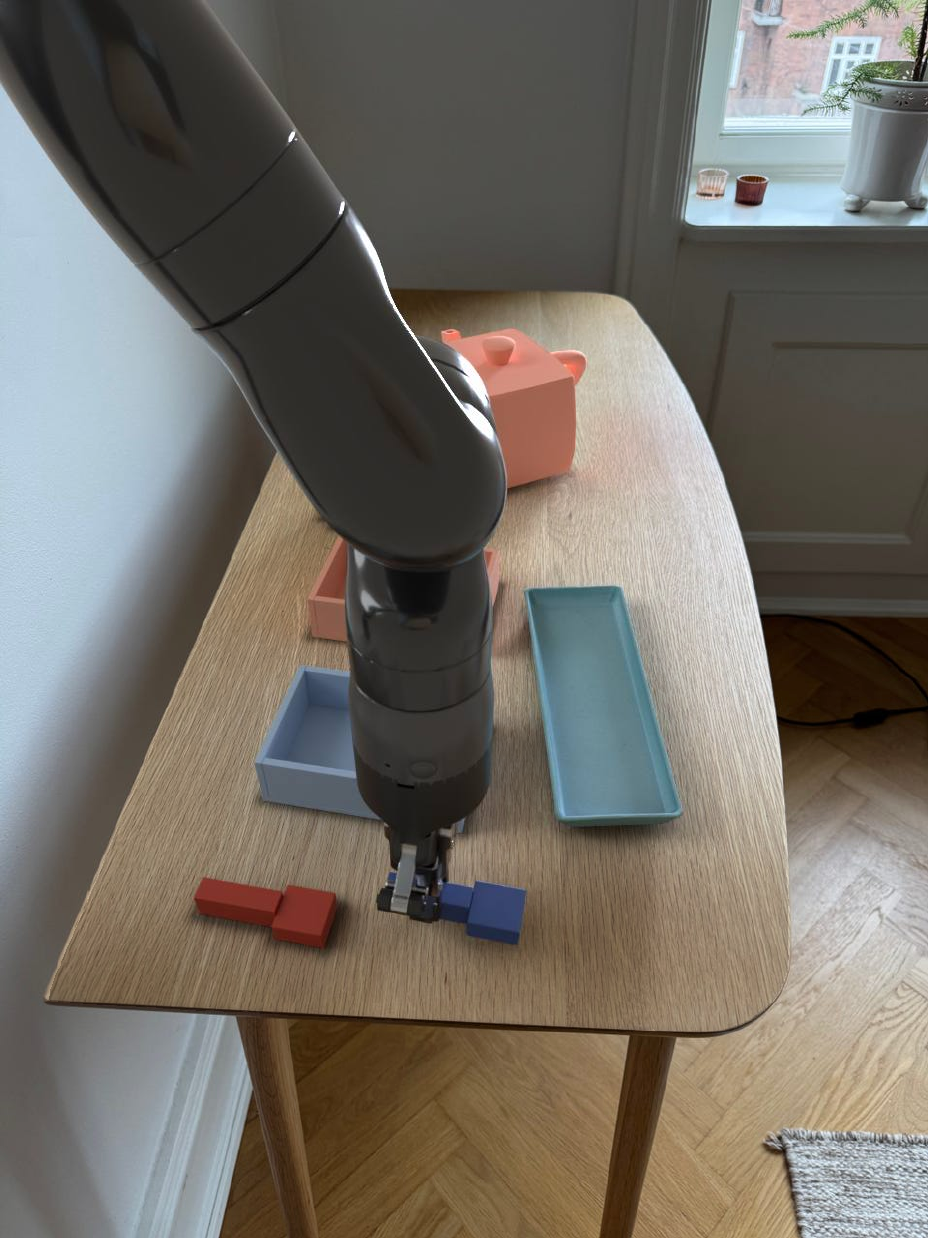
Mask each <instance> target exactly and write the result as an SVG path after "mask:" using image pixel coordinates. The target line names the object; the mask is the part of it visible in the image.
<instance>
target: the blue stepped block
mask: <svg viewBox="0 0 928 1238" xmlns="http://www.w3.org/2000/svg"><path fill="white" fill-rule="evenodd" d="M396 876H397V872H394V871H390V872H389V873H388V876H387V879H386V881H387V880H391V881H396ZM442 883H443V891H442V911H441V915H440V920H441V921H442V920H443V921H446V922H447V921H448V922H452V923H456V924H457V923H458V924H463V925H465V936H466V937H470V938H475V939H481V940H486V941H492V942H496V943H501V944H506V945H507V944H508V945H512V946H519V941H520V936H521V931H522V924H523V917H524V912H525V907H526V899H527V898H526V897H527V889H524V888H519V887H513V886H510V885H509V886H508V885H503V884H497V883H492V882H488V881H481V880H475V882H474V886H468V885H463V884H458V883H454V882H453V883H452V882H447V883H445V882H442Z"/></svg>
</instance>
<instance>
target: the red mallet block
mask: <svg viewBox="0 0 928 1238" xmlns="http://www.w3.org/2000/svg"><path fill="white" fill-rule="evenodd" d="M193 900H194V902H195V905H196V908H197V910H198V913H199V914H200V915H205V916H210V917H216V918H222V919H226V920H227V919H228V920H233V921H238V922H244V923H249V924H254V925H258V926H259V925H260V926H265V927H270V928H271V930H272V934H273V938H274V940H279V941H283V942H289V943H295V944H300V945H306V946H311V947H316V948H321V949H324V947H325V945H326V943H327V940H328V936H329V933H330V930H331V927H332V925H333V922H334V919H335V916H336V913H337V909H338V906H339V905H338V899H337V894H336V892H332V891H326V890H321V889H314V888H310V887H304V886H298V885H292V884H287V885H286V887H285V890H284V892H283V891H282V890H278V889H272V888H268V887H267V888H266V887H260V886H255V885H249V884H244V883H239V882H232V881H227V880H221V879H217V878H210V877H202V879H201V881H200V883H199V885H198V888H197V890H196V891H195V894H194V896H193Z"/></svg>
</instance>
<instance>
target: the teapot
mask: <svg viewBox="0 0 928 1238" xmlns="http://www.w3.org/2000/svg"><path fill="white" fill-rule="evenodd" d="M460 332H461V331H459V330H456V329H454V328H451V329H446V330H441V332H440V334H441V335H440V336H441V342H442V343H444V344H446V345H448V346H450V347H451V348H453V349H455V350H456V351H457V352H459V353H460V354H461V355H462V356H463V357H464V358H465V359H466V360H467V361H468V362H469V363H470V364H471V365H472V366H473V368H474V369H475V371H476V372H477V373H478V375H479V377H480V378H481V380H482V382H483V384H484V386H485V388H486V390H487V393H488V396H489V399H490V403H491V407H492V411H493V415H494V420H495V424H496V428H497V432H498V437H499V441H500V445H501V449H502V453H503V457H504V462H505V467H506V474H507V489H510V488H513V487H517V486H521V485H525V484H528V483H531V482H535V481H538V480H543V479H547V478H549V477H553V476H556V475H558V474H559V475H560V474H562V473H566V472H568V471H570V470H571V467H572V465H573V462H574V458H575V453H576V445H577V444H576V443H577V396H576V387H577V385H578V383H579V382H580V380H581V379H582V377H583V375H584V373H585V371H586V369H587V366H588V363H587V362H588V361H587V360H588V359H587V357H586V355H585V354H584V353H583V352H581V351H580V350H575V349H567V350H565V349H564V350H557V351H552V352H549V350H547V349H546V348H544V347H543V346H542V345H540V344H539V343H538V342H536V341H535V340H533V339H532V338H531V337H530V336H528V335H527V334H525V333H524V332H522V331H520V330H519V329H516V328H513V327H512V328H506V329H502V330H496V331H491V332H490V331H489V332H487V333H481V334H476V335H471V336H467V337H462V336H461V333H460Z"/></svg>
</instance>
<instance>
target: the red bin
mask: <svg viewBox="0 0 928 1238" xmlns="http://www.w3.org/2000/svg"><path fill="white" fill-rule="evenodd" d="M500 551H501V550H500V549H499V548H492V547H486V546H485V547H484V554H485V560H486V566H487V571H488V576H489V582H490V588H491V596H492V606H493V607H494V605H495V601H496V597H497V593H498V590H499V582H500V581H499V580H500V579H499V578H500ZM346 576H347V545H346V542H345V541H344V540H343V539H342V538H341V537H340V536H339V535H338V536H337V538H336V540H335V542H334V544H333V546H332V549H331V551H329V554H328V556H327V558H326V560H325V562H324V565H323V566H322V568H321V570H320V572H319V574H318V576H317V578H316V580H315V582H314V585H313V587H312V588H311V590H310V592H309V594H308V596H307V599H306V602H307V607H308V615H309V620H310V621H309V622H310V626H311V633H312V635H311V636H312V638H318V639H325V640H332V641H338V642H339V641H340V642H346V643H347V636H346V626H345V589H346Z"/></svg>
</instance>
